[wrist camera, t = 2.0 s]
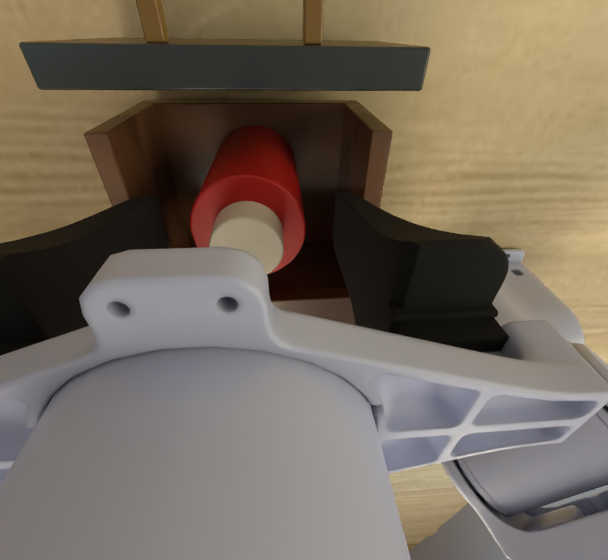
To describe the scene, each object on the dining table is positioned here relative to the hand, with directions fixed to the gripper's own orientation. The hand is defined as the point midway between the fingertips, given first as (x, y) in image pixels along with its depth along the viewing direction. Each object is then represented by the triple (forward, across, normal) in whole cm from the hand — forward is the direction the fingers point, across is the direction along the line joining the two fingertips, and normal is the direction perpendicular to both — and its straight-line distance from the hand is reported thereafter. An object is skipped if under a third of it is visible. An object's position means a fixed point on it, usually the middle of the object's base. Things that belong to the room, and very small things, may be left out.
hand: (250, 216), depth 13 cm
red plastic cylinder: (+6, 0, 0) cm, 6 cm away
